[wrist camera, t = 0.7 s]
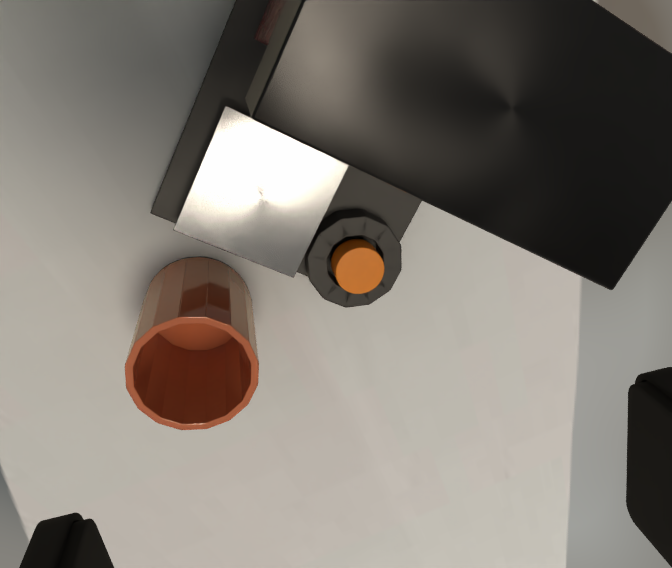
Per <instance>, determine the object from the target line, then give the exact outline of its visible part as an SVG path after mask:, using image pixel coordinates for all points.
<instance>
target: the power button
mask: <svg viewBox="0 0 672 568" xmlns="http://www.w3.org/2000/svg"><path fill="white" fill-rule="evenodd" d="M331 268H332V271H333V273H334V275H335V277H336V280H337V282H338V283H339V285H340V286H341V287H342V288H343V289H344V290H346V291H347V292H350V293H354V294H362V293H366V292H369V291H371V290H373V289H374V288H375V287H376V286H377V285H378V284H379V283H380V281H381V280H382V278H383V275H384V262H383V260H382V258H381V256H380V255H379V253H378V252H377V251H376V249H375V248H374V247H373V245H372V244H370V243H369V242H367V241H365V240H362V239H350V240H347V241H345V242H343V243H342V244H340V245H339V246H338V247H337V248H336V249H335V251H334V253H333V255H332V258H331Z"/></svg>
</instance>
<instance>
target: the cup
mask: <svg viewBox="0 0 672 568" xmlns="http://www.w3.org/2000/svg"><path fill="white" fill-rule="evenodd" d="M258 371H259V361H258V353H257V344H256V335H255V327H254V318H253V309H252V301H251V297H250V294H249V291H248V288H247V286H246V284H245V282H244V281H243V279H242V278H241V277H240V275H239V274H238V273H237V272H236V271H234V270H233V269H232V268H231V267H229V266H228V265H226V264H224V263H222V262H220V261H217V260H214V259H210V258H204V257H191V258H185V259H181V260H178V261H176V262H173V263H171V264H169V265H168V266H166V267H165V268H163V269H162V270H161V271H160V272H159V273H158V274H157V275H156V276H155V277H154V279H153V280H152V281H151V283H150V285H149V287H148V290H147V293H146V295H145V298H144V300H143V304H142V307H141V311H140V314H139V318H138V321H137V325H136V328H135V332H134V335H133V339H132V342H131V346H130V349H129V353H128V356H127V360H126V363H125V377H126V388H127V390H128V392H129V394H130V396H131V397H132V399H133V401H134V403H135V404H136V406H137V408H138V409H139V410H141V411H142V412H143V413H145V414H146V415H147V416H149V417H150V418H151V419H153V420H154V421H155V422H157V423H159V424H162V425H166V426H169V427H173V428H176V429H180V430H194V429H208V428H211V427H213V426H216V425H219V424H221V423H224V422H226V421H229V420H231V419H232V418H233V417H234V416H235V415H236V414H238V413H239V412H240V411H241V410H242V409H243V408H245V407H246V406H247V405H248V404H249V402H250V400H251V398H252V396H253V394H254V392H255V390H256V388H257V386H258Z"/></svg>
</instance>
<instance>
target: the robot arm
mask: <svg viewBox="0 0 672 568" xmlns="http://www.w3.org/2000/svg"><path fill="white" fill-rule="evenodd" d="M626 493H627V494H626V495H627V496H626V503H627V509H628V512H629V514H630V516H631V518H632V520H633V522H634V523H635V525H636V526H637V527H638V528H639V529H640V530H641V532H642V533H643V534H644V535H645V536H646V538H647V539H648V540H649V541H650V542H651V543H652V545H653V546H654V547H655V548H656V549H657V550H658V552H659V553H660V554H661V555H662V556H663V557H664V559H665V560H666V561H667V562H668V563H669V565H670V566H671V567H672V367H667V368H663V369H659V370H655V371H651V372H647V373H643V374H640V375H638V377H637V378H636V381H635V384H633V385H631V386H630V388H629V392H628V438H627V491H626ZM19 568H114V566H113V564H112V562H111V559H110V557H109V555H108V552H107V550H106V547H105V545H104V543H103V540H102V538H101V536H100V533H99V531H98V528H97V526H96V524H95V522H94V521H93V520H92V519H86V520H83V518H82V516H81V515H80V514H79V513H72V514H68V515H64V516H60V517H56V518H52V519H47V520H43V521H41V522H39V523H38V525H37V526H36V528H35V531H34V533H33V536H32V538H31V540H30V543H29V545H28V548H27V550H26V553H25V555H24V558H23V560H22V563H21V565H20V567H19Z"/></svg>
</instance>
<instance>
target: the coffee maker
mask: <svg viewBox="0 0 672 568" xmlns="http://www.w3.org/2000/svg"><path fill="white" fill-rule="evenodd" d="M254 39H255V40H257V41H259V42H260V43H262V44H264V45H266V46H267V48H266V50H265V53H264V55H263V57H262V60H261V62H260V64H259V67H258V69H257V71H256V74H255V76H254V78H253V81H252V83H251V85H250V88H249V90H248V92H247V95H246V97H245V101H246V104H247V107H248V110H249V112H250V115H251V117H250V116H247V115H245V114H243V113H241V112H239V111H237V110H235V109H233V108H231V107H229V106H226V105H225V108H224V110H223V112H222V115H221V117H220V119H219V122H218V124H217V127H216V129H215V131H214V134H213V136H212V139H211V141H210V143H209V146H208V148H207V150H206V153H205V155H204V158H203V160H202V162H201V165H200V167H199V170H198V172H197V174H196V177H195V179H194V181H193V184H192V186H191V189H190V191H189V193H188V196H187V198H186V201H185V203H184V205H183V208H182V210H181V212H180V215H179V217H178V220H177V222H176V224H175V227H174V229H173V230H175V231H177V232H180V233H182V234H185V235H187V236H190V237H192V238H195V239H197V240H200V241H202V242H205V243H207V244H210V245H212V246H215V247H217V248H220V249H223V250H225V251H228V252H230V253H233V254H235V255H238V256H240V257H243V258H245V259H248V260H250V261H253V262H255V263H258V264H260V265H263V266H265V267H268V268H270V269H273V270H275V271H278V272H280V273H283V274H286V275H288V276H291V277H293V278H294V276H295V274H296V272H297V270H298V268H299V266H300V264H301V262H302V259H303V257H304V255H305V253H306V251H307V249H308V247H309V245H310V243H311V241H312V239H313V237H314V235H315V233H316V231H317V229H318V227H319V225H320V223H321V221H322V219H323V217H324V215H325V213H326V211H327V209H328V207H329V205H330V203H331V201H332V199H333V197H334V194H335V192H336V190H337V188H338V186H339V184H340V182H341V180H342V178H343V176H344V174H345V172H346V170H347V168H348V166H351V167H353V168H355V169H357V170H359V171H361V172H364V173H366V174H368V175H370V176H372V177H374V178H376V179H378V180H380V181H382V182H385V183H387V184H389V185H391V186H393V187H395V188H397V189H399V190H401V191H403V192H406V193H408V194H410V195H412V196H414V197H416V198H418V199H420V200H422V201H424V202H427V203H429V204H431V205H433V206H435V207H437V208H439V209H441V210H443V211H445V212H448V213H450V214H452V215H454V216H456V217H458V218H460V219H462V220H464V221H466V222H468V223H471V224H473V225H475V226H477V227H479V228H481V229H483V230H485V231H487V232H489V233H492V234H494V235H496V236H498V237H500V238H502V239H504V240H506V241H508V242H510V243H513V244H515V245H517V246H519V247H521V248H523V249H525V250H527V251H529V252H531V253H534V254H536V255H538V256H540V257H542V258H544V259H546V260H548V261H550V262H552V263H555V264H557V265H559V266H561V267H563V268H565V269H567V270H569V271H571V272H573V273H576V274H578V275H580V276H582V277H584V278H586V279H588V280H590V281H593V282H594V283H597V284H599V285H601V286H603V287H605V288H607V289H609V290H613V289H614V287H615V286H616V284H617V283H618V281H619V280H620V278H621V277H622V275H623V273H624V272H625V271H626V269H627V268H628V266H629V265H630V263H631V262H632V260H633V258H634V257H635V255H636V254H637V253H638V251H639V250H640V248H641V247H642V245H643V244H644V242H645V241H646V239H647V238H648V236H649V235H650V233H651V231H652V230H653V228H654V227H655V226H656V224H657V222H658V221H659V219H660V218H661V216H662V215H663V213H664V212H665V210H666V209H667V207H668V206H669V204H670V203H671V201H672V53H670V52H669V51H667V50H666V49H664V48H663V47H661V46H660V45H658V44H657V43H655V42H654V41H652V40H651V39H649V38H648V37H646V36H645V35H643V34H642V33H640V32H639V31H637V30H636V29H634V28H633V27H631V26H630V25H628V24H627V23H625V22H624V21H623V20H621V19H620V18H618V17H617V16H615V15H614V14H612V13H610V12H609V11H607V10H606V9H605V8H603V7H602V6H600V5H599V4H597V3H596V2H594V1H593V0H269V3H268V5H267V8H266V10H265V12H264V15H263V17H262V19H261V22H260V24H259V27H258V29H257V31H256V34H255V36H254Z"/></svg>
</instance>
